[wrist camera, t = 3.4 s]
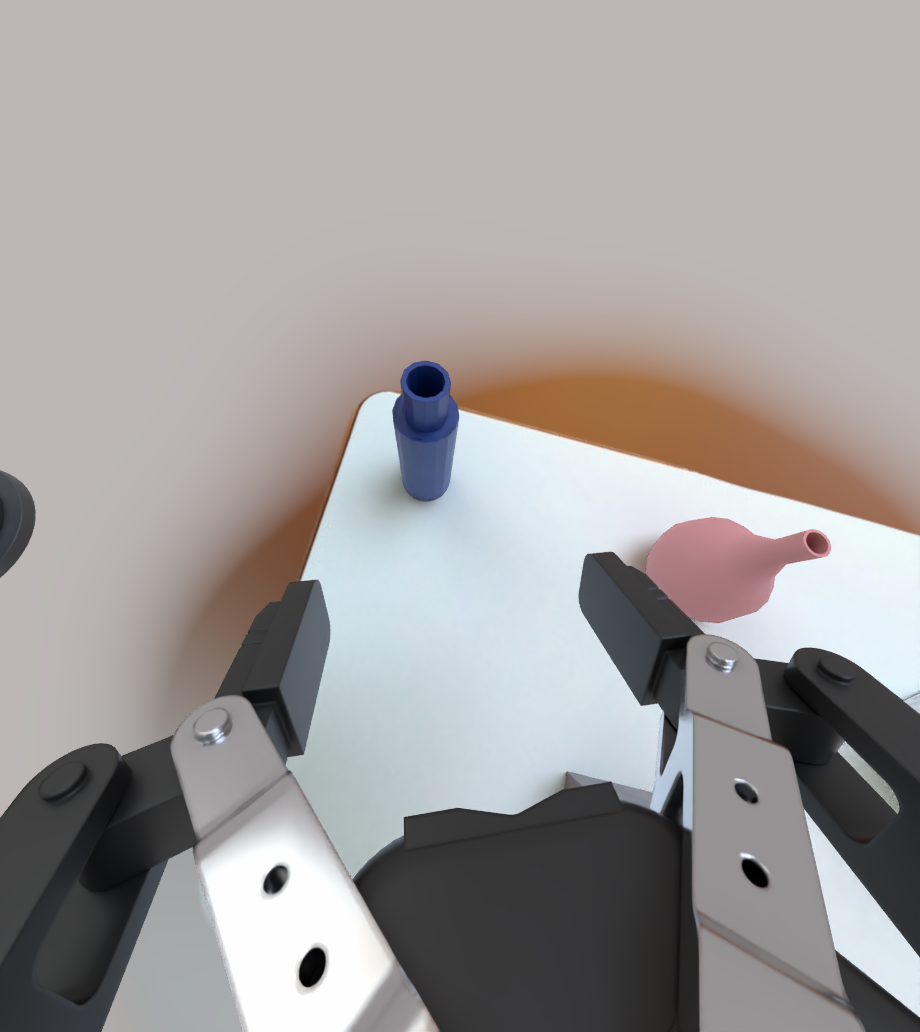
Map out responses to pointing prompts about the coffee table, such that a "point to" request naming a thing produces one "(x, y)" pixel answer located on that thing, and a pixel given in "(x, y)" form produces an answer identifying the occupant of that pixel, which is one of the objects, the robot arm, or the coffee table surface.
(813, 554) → the pink bud vase
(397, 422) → the bottle
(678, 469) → the coffee table surface
